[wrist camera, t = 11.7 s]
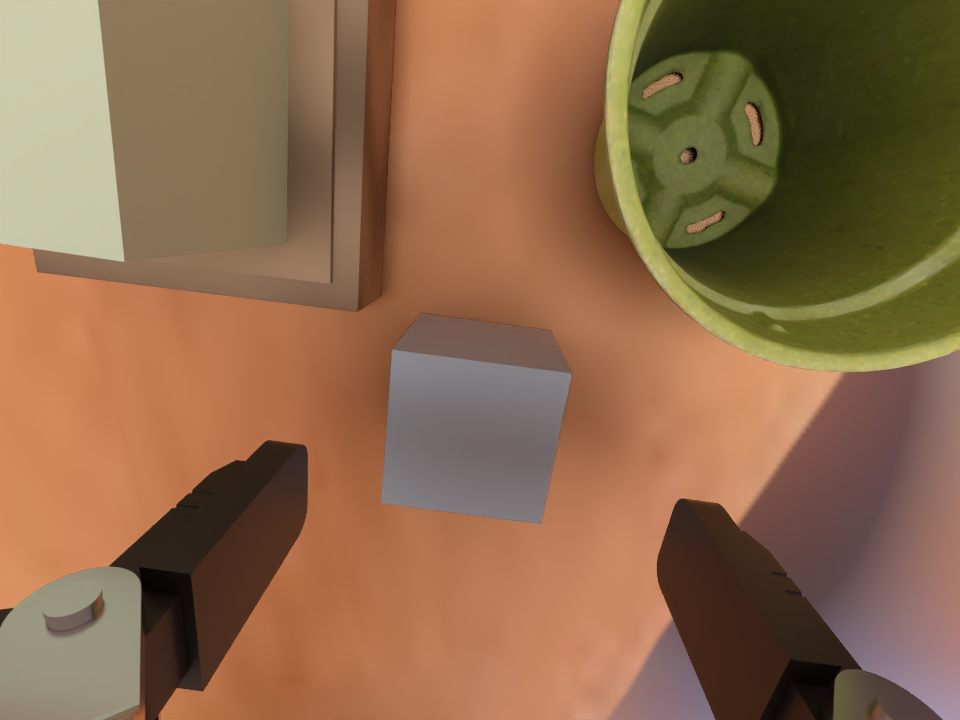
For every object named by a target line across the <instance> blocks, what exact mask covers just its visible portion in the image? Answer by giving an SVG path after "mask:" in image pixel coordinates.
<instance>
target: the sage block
mask: <svg viewBox="0 0 960 720" xmlns="http://www.w3.org/2000/svg"><path fill="white" fill-rule="evenodd" d="M288 56H289V0H0V244H7V245H14V246H20V247H27V248H34V249H41V250H47V251H54V252H61V253H68V254H74V255H81V256H88V257H95V258H101V259H108V260H115V261H122V262H128V261H137V260H145V259H154V258H162V257H171V256H179V255H188V254H197V253H205V252H214V251H222V250H231V249H239V248H248V247H256V246H265V245H274V244H282V243H287V169H288Z"/></svg>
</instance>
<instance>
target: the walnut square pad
mask: <svg viewBox="0 0 960 720" xmlns="http://www.w3.org/2000/svg"><path fill="white" fill-rule="evenodd" d="M395 13H396V0H289V56H288V169H287V243H282V244H274V245H265V246H256V247H248V248H239V249H231V250H222V251H214V252H205V253H197V254H188V255H179V256H171V257H162V258H154V259H145V260H137V261H128V262H122V261H115V260H108V259H101V258H95V257H88V256H81V255H74V254H68V253H61V252H54V251H47V250H41V249H34V248H33V252H34V257H35V263H36V268H37V272H40V273H48V274H56V275H65V276H73V277H81V278H89V279H97V280H105V281H113V282H121V283H129V284H137V285H145V286H153V287H161V288H169V289H177V290H185V291H193V292H201V293H210V294H218V295H226V296H234V297H242V298H250V299H258V300H266V301H274V302H282V303H290V304H298V305H306V306H314V307H322V308H330V309H338V310H346V311H354V312H358V311H360V310H361V309H362V308H364V307H365V306H367V305H368V304H370V303H371V302H373V301H374V300H376V299H377V298H379V297H380V296H381V288H382V268H383V249H384V229H385V209H386V190H387V170H388V150H389V131H390V111H391V92H392V72H393V52H394V33H395Z"/></svg>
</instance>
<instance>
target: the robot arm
mask: <svg viewBox="0 0 960 720" xmlns="http://www.w3.org/2000/svg"><path fill="white" fill-rule="evenodd" d="M307 489H308V453H307V448H306V446H304V445H300V444H293V443H286V442H279V441H271V440H268V441H266V442H265V443H263V444H262V445H261V446H260V447H259V448H258V449H257V450H256V451H255V452H254V453H253V454H252V455H251V456H250V457H249V458H248V459H247V460H246V461H239V460H236V461H234V462H232V463H230V464H228V465H226V466H224V467H222V468H220V469H218V470H216V471H214V472H212V473H210V474H209V475H208V476H207V477H206V478H205V479H204V480H203V481H202V482H201V483H199V484H198V485H197V486H196V487H195V488H194V489H193V490H192V493H191V494H190V493H189V494H187V495H186V496H185V497H184V498H183V499H182V500H181V501H180V502H179V503H178V504H177V506H176V508H172V509H171V510H170V511H169V512H168V513H167V514H166V515H164V516H163V517H162V518H161V519H160V520H159V521H158V522H157V523H156V524H155V525H153V526H152V527H151V528H150V529H149V530H148V531H147V532H146V533H145V534H144V535H143V536H141V537H140V538H139V539H138V540H137V541H136V542H135V543H134V544H133V545H132V546H130V547H129V548H128V549H127V550H126V551H125V552H124V553H123V554H122V555H121V556H120V557H118V558H117V559H116V560H115V561H114V562H113V563H112V564H111V565H110V566H109V567H98V568H91V569H86V570H82V571H78V572H75V573H72V574H69V575H66V576H64V577H61V578H59V579H57V580H55V581H53V582H51V583H49V584H46V585H45V586H43V587H41V588H40V589H38V590H36V591H35V592H33V593H32V594H30V595H29V596H28V597H26V598H25V599H24V600H23V601H21V602H20V603H19V604H18V605H17V606H16V607H15V608H10V609H2V610H0V720H161V713H160V712H161V710H162V709H163V707H164V706H165V704H166V703H167V701H168V700H169V698H170V697H171V696H172V694H173V693H174V691H175V690H176V688H183V689H190V690H197V691H204V689H205V687H206V686H207V684H208V683H209V681H210V679H211V678H212V676H213V674H214V673H215V671H216V670H217V668H218V666H219V665H220V663H221V661H222V660H223V658H224V657H225V655H226V653H227V652H228V650H229V648H230V647H231V645H232V644H233V642H234V640H235V639H236V637H237V635H238V634H239V632H240V631H241V629H242V627H243V626H244V624H245V622H246V621H247V619H248V618H249V616H250V614H251V613H252V611H253V609H254V608H255V606H256V605H257V603H258V601H259V600H260V598H261V596H262V595H263V593H264V592H265V590H266V588H267V587H268V585H269V584H270V582H271V580H272V579H273V577H274V575H275V574H276V572H277V571H278V569H279V567H280V566H281V564H282V562H283V561H284V559H285V558H286V556H287V554H288V553H289V551H290V549H291V548H292V546H293V545H294V543H295V541H296V540H297V538H298V536H299V535H300V532H301V530H302V528H303V525H304V521H305V518H306V513H307ZM657 577H658V582H659V586H660V589H661V591H662V594H663V596H664V598H665V601H666V603H667V605H668V608H669V610H670V612H671V615H672V617H673V620H674V622H675V624H676V627H677V629H678V631H679V634H680V636H681V639H682V641H683V643H684V646H685V648H686V650H687V653H688V655H689V657H690V660H691V662H692V665H693V667H694V669H695V672H696V674H697V676H698V679H699V681H700V684H701V686H702V688H703V691H704V693H705V695H706V698H707V700H708V702H709V705H710V707H711V710H712V712H713V714H714V717H715V719H716V720H943V719H942V718H941V717H940V716H938V715H937V714H936V713H935V712H934V711H933V710H932V709H931V708H930V707H928V706H927V705H926V704H925V703H923V702H922V701H921V700H919V699H918V698H917V697H916V696H914V695H913V694H911V693H910V692H909V691H907V690H905V689H904V688H902V687H900V686H899V685H897V684H896V683H893V682H891V681H890V680H888V679H886V678H884V677H881V676H879V675H877V674H874V673H871V672H867V671H864V670H862V669H861V667H860V666H859V665H858V664H857V663H856V661H855V660H854V658H853V657H852V656H851V655H850V653H849V652H848V651H847V650H846V649H845V647H844V646H843V644H842V643H841V642H840V641H839V639H838V638H837V637H836V636H835V635H834V633H833V632H832V631H831V629H830V628H829V627H828V625H827V624H826V623H825V622H824V621H823V619H822V618H821V616H820V615H819V614H818V613H817V611H816V610H815V609H814V608H813V606H812V605H811V604H810V603H809V601H808V600H807V599H806V597H802V595H801V591H800V590H799V588H798V587H797V586H796V585H795V583H794V582H793V581H792V580H791V578H787V573H786V572H785V571H784V569H783V568H782V567H781V566H780V564H779V563H778V562H777V560H776V559H775V558H774V557H773V555H772V554H771V553H770V552H769V551H768V550H767V549H766V548H764V547H763V546H762V545H761V544H759V543H758V542H757V541H756V540H755V539H753V538H752V537H751V536H750V535H748V534H747V533H746V532H743V531H740V529H739V528H738V527H737V525H736V524H735V522H734V521H733V520H732V518H731V517H730V516H729V514H728V513H727V512H726V510H725V509H724V508H723V507H722V506H721V505H720V504H718V503H711V502H704V501H697V500H690V499H680V500H678V501H677V503H676V504H675V506H674V509H673V512H672V515H671V518H670V521H669V524H668V527H667V530H666V533H665V536H664V539H663V542H662V545H661V549H660V552H659V555H658V559H657Z"/></svg>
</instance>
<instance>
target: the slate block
mask: <svg viewBox="0 0 960 720" xmlns="http://www.w3.org/2000/svg"><path fill="white" fill-rule="evenodd" d="M571 376H572V372H571V370H570V368H569V366H568V364H567V362H566V360H565V358H564V356H563V354H562V352H561V350H560V348H559V346H558V344H557V342H556V340H555V338H554V336H553V334H552V332H551V330H544V329H536V328H529V327H521V326H514V325H507V324H499V323H492V322H484V321H477V320H469V319H462V318H454V317H447V316H439V315H432V314H424V313H420V314H419V316H418V317H417V318H416V320H415V321H414V322H413V323H412V325H411V326H410V327H409V329H408V330H407V331H406V332H405V334H404V335H403V336H402V338H401V339H400V340H399V341H398V343H397V344H396V345H395V347H394V348H393V349H392V357H391V371H390V385H389V400H388V414H387V428H386V442H385V456H384V470H383V484H382V499H381V503H383V504H391V505H398V506H406V507H414V508H421V509H429V510H437V511H445V512H452V513H460V514H468V515H476V516H483V517H491V518H499V519H506V520H514V521H522V522H530V523H537V524H541V522H542V517H543V513H544V508H545V503H546V498H547V493H548V488H549V483H550V479H551V474H552V469H553V464H554V459H555V454H556V449H557V445H558V440H559V435H560V430H561V425H562V420H563V415H564V410H565V406H566V401H567V396H568V391H569V386H570V381H571Z"/></svg>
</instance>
